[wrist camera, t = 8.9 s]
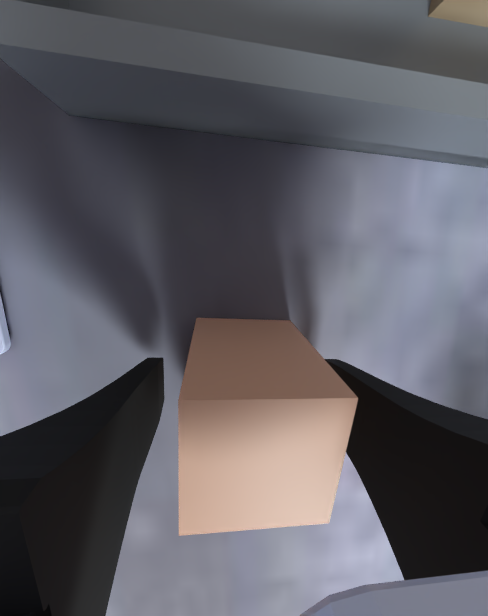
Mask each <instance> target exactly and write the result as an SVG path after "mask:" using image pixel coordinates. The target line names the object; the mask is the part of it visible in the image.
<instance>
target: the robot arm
mask: <svg viewBox="0 0 488 616" xmlns="http://www.w3.org/2000/svg"><path fill="white" fill-rule="evenodd" d="M10 347H11V341H10V337H9V332H8V327H7V323H6V318H5V313H4V308H3V304H2V299H1V294H0V355H1V354H2V353H4V352H6V351H8V350H9V348H10ZM324 360H325V361H326V362H327V363H328V364H329V365H330V366H331V368H332V369H333V370H334V371H335V372H336V373H337V374H338V375H339V377H340V378H341V379H342V380H343V381H344V382H345V383H346V385H347V386H348V387H349V388H350V389H351V390H352V391H353V393H354V394H355V395H356V396H357V397H358V402H357V406H356V410H355V415H354V419H353V423H352V427H351V432H350V436H349V440H348V444H347V449H346V453H347V455H348V456H349V458H350V460H351V461H352V463H353V465H354V467H355V468H356V470H357V472H358V474H359V476H360V478H361V480H362V482H363V484H364V486H365V488H366V490H367V493H368V495H369V497H370V499H371V501H372V503H373V506H374V508H375V510H376V512H377V515H378V517H379V519H380V521H381V524H382V526H383V528H384V530H385V533H386V535H387V538H388V540H389V543H390V545H391V547H392V550H393V552H394V555H395V557H396V560H397V562H398V565H399V567H400V569H401V572H402V575H403V577H404V581H395V582H387V583H378V584H370V585H363V586H360V587H356V588H353V589H349V590H346V591H342V592H339V593H335V594H332V595H329V596H327V597H326V598H324V599H323V600H322V601H320V602H319V603H317V604H316V605H314V606H313V607H311V608H310V609H308V610H307V611H305V612H304V613H302V614H301V615H300V616H488V419H484V418H480V417H477V416H473V415H470V414H467V413H464V412H461V411H458V410H454V409H451V408H448V407H445V406H443V405H440V404H437V403H434V402H432V401H429V400H426V399H424V398H421V397H418V396H416V395H414V394H411V393H409V392H406V391H404V390H402V389H400V388H398V387H395V386H393V385H391V384H389V383H387V382H385V381H382V380H380V379H378V378H376V377H374V376H372V375H370V374H368V373H366V372H364V371H362V370H360V369H358V368H356V367H354V366H352V365H350V364H348V363H345V362H343V361H340V360H337V359H324ZM163 403H164V368H163V358H147V359H145V360H144V361H142V362H141V363H140V364H138V365H137V366H135V367H134V368H133V369H131V370H130V371H128V372H127V373H126V374H124V375H123V376H121V377H120V378H118V379H117V380H115V381H114V382H112V383H111V384H109V385H107V386H106V387H104V388H103V389H101V390H99V391H98V392H96V393H95V394H93V395H91V396H89V397H88V398H86V399H84V400H82V401H80V402H78V403H76V404H75V405H73V406H71V407H69V408H67V409H65V410H63V411H61V412H58V413H56V414H54V415H52V416H49V417H47V418H45V419H43V420H40V421H38V422H36V423H33V424H31V425H29V426H26V427H24V428H21V429H19V430H16V431H14V432H11V433H9V434H6V435H3V436H0V616H105V615H106V610H107V606H108V601H109V597H110V593H111V588H112V584H113V580H114V575H115V571H116V567H117V562H118V558H119V554H120V550H121V546H122V542H123V538H124V534H125V529H126V525H127V521H128V517H129V513H130V510H131V506H132V502H133V498H134V494H135V490H136V487H137V484H138V480H139V477H140V474H141V471H142V469H143V466H144V463H145V460H146V457H147V455H148V452H149V449H150V446H151V444H152V441H153V438H154V435H155V432H156V430H157V427H158V424H159V421H160V416H161V412H162V407H163Z"/></svg>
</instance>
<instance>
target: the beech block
mask: <svg viewBox="0 0 488 616" xmlns="http://www.w3.org/2000/svg"><path fill="white" fill-rule="evenodd" d="M428 17H433V18H439V19H444V20H450V21H455V22H461V23H466V24H472V25H477V26H483V27H488V0H431V3H430V8H429V13H428Z"/></svg>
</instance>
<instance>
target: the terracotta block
mask: <svg viewBox="0 0 488 616" xmlns="http://www.w3.org/2000/svg"><path fill="white" fill-rule="evenodd" d="M357 402H358V397H357V396H356V395H355V394H354V393H353V391H352V390H351V389H350V388H349V387H348V386H347V385H346V383H345V382H344V381H343V380H342V379H341V378H340V377H339V375H338V374H337V373H336V372H335V371H334V370H333V369H332V368H331V366H330V365H329V364H328V363H327V362H326V361H325V360H324V358H323V357H322V356H321V355H320V354H319V353H318V352H317V350H316V349H315V348H314V347H313V346H312V345H311V344H310V343H309V341H308V340H307V339H306V338H305V337H304V336H303V335H302V333H301V332H300V331H299V330H298V329H297V328H296V327H295V325H294V324H293V323H292V322H291V321H290V320H257V319H224V318H196V322H195V327H194V331H193V336H192V341H191V345H190V350H189V354H188V359H187V363H186V368H185V373H184V377H183V382H182V386H181V391H180V395H179V400H178V419H179V536H181V535H193V534H205V533H217V532H229V531H242V530H254V529H266V528H278V527H290V526H302V525H314V524H326V523H329V521H330V517H331V513H332V508H333V504H334V500H335V496H336V491H337V487H338V483H339V479H340V474H341V470H342V466H343V462H344V457H345V453H346V449H347V444H348V440H349V436H350V432H351V427H352V423H353V419H354V415H355V410H356V406H357Z"/></svg>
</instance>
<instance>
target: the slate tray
mask: <svg viewBox="0 0 488 616" xmlns="http://www.w3.org/2000/svg"><path fill="white" fill-rule="evenodd" d="M430 3H431V0H0V59H1V60H3V61H4V62H5V63H6V64H8V65H9V66H10V67H11V68H12V69H14V70H15V71H16V72H17V73H18V74H20V75H21V76H22V77H23V78H25V79H26V80H27V81H28V82H29V83H31V84H32V85H33V86H34V87H35V88H37V89H38V90H39V91H40V92H42V93H43V94H44V95H45V96H46V97H48V98H49V99H50V100H51V101H52V102H54V103H55V104H56V105H57V106H59V107H60V108H61V109H62V110H63V111H65V112H66V113H67V114H68V115H71V116H79V117H87V118H95V119H103V120H111V121H119V122H127V123H135V124H143V125H151V126H159V127H167V128H175V129H183V130H191V131H198V132H206V133H214V134H222V135H230V136H238V137H246V138H254V139H262V140H270V141H278V142H286V143H294V144H302V145H310V146H318V147H325V148H333V149H341V150H349V151H357V152H365V153H373V154H381V155H389V156H397V157H405V158H413V159H421V160H429V161H437V162H444V163H452V164H460V165H468V166H476V167H484V168H488V27H483V26H477V25H472V24H466V23H461V22H455V21H450V20H444V19H439V18H433V17H428V13H429V8H430Z"/></svg>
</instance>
